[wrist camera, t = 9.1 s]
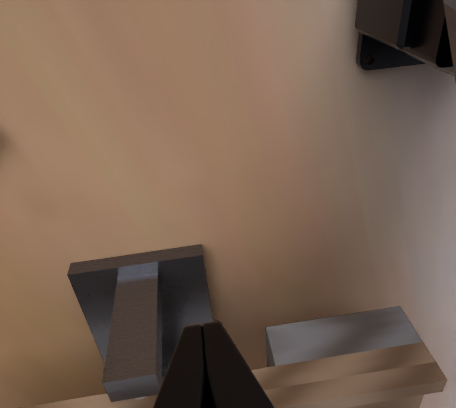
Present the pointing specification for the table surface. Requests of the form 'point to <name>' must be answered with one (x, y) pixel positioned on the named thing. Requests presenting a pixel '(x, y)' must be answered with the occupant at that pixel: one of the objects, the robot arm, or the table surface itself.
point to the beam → (332, 365)
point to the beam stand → (141, 313)
